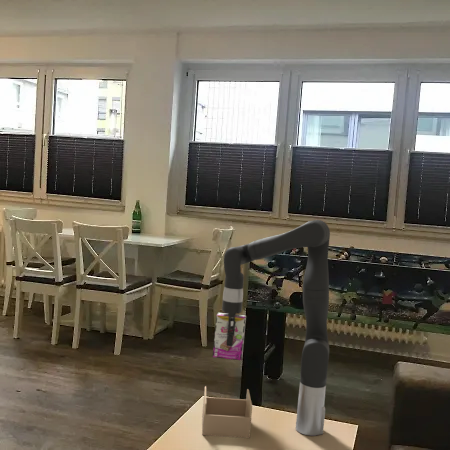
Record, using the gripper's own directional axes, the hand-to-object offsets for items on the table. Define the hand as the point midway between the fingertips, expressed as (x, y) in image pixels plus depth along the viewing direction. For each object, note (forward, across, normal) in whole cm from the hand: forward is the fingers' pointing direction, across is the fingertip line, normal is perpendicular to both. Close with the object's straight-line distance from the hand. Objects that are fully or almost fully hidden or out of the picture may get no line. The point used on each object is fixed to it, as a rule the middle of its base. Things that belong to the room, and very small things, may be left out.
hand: (229, 343), depth 214 cm
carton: (+25, -16, 0) cm, 30 cm away
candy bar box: (+6, 0, 0) cm, 6 cm away
